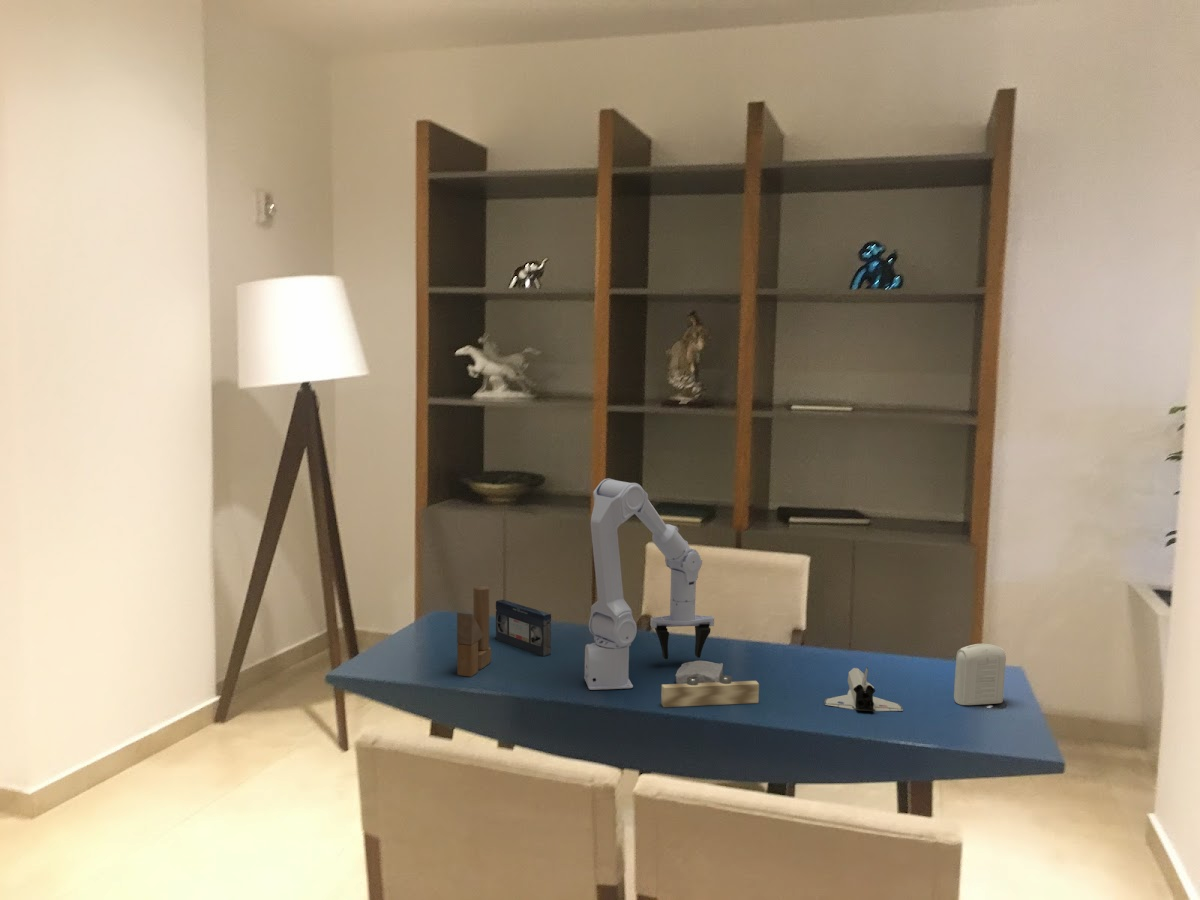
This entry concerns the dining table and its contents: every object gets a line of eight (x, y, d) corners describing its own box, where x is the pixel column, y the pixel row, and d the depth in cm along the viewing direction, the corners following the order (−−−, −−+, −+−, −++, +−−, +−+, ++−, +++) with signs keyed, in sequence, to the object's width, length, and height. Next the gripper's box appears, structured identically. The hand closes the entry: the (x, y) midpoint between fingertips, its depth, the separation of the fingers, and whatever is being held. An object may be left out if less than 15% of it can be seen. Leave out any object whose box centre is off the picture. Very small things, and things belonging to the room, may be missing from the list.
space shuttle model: (888, 679, 212) (890, 635, 211) (905, 720, 187) (908, 671, 186) (818, 674, 214) (819, 631, 213) (825, 714, 190) (827, 666, 189)
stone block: (675, 698, 201) (722, 693, 199) (671, 676, 201) (718, 671, 199) (682, 682, 213) (726, 677, 211) (678, 661, 213) (722, 656, 211)
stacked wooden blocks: (456, 675, 208) (456, 595, 206) (477, 660, 218) (477, 584, 216) (471, 677, 207) (472, 596, 205) (491, 662, 217) (492, 585, 215)
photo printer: (993, 697, 200) (996, 640, 199) (1006, 704, 196) (1009, 646, 194) (950, 700, 197) (953, 642, 196) (962, 707, 193) (965, 648, 192)
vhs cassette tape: (495, 639, 235) (495, 600, 234) (504, 637, 237) (504, 598, 236) (541, 657, 221) (542, 616, 220) (551, 655, 223) (552, 614, 222)
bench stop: (663, 707, 191) (663, 683, 190) (659, 701, 194) (660, 677, 193) (758, 702, 194) (759, 679, 194) (753, 697, 197) (754, 674, 197)
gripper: (708, 593, 221) (707, 650, 222) (648, 595, 218) (646, 652, 220) (717, 601, 214) (715, 660, 215) (654, 603, 211) (653, 662, 213)
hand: (681, 657), depth 217 cm, fingers open, 7 cm apart
